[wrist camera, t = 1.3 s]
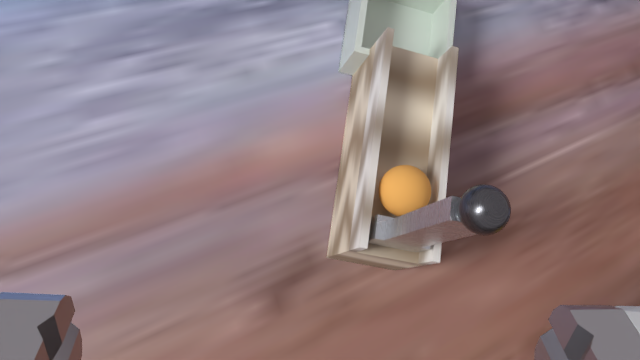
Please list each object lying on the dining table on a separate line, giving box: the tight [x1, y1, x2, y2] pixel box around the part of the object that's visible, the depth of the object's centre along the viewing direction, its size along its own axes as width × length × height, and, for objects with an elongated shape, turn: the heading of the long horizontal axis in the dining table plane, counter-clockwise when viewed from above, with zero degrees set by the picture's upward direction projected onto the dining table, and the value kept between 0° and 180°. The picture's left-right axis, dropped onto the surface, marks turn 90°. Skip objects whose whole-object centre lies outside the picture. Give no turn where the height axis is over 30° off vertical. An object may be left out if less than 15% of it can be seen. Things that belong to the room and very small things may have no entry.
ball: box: [379, 165, 431, 216], centre depth 42 cm, size 4×4×4 cm
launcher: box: [327, 27, 459, 270], centre depth 47 cm, size 18×6×8 cm, turn 171°
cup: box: [339, 0, 457, 76], centre depth 52 cm, size 9×9×4 cm
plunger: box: [368, 185, 511, 252], centre depth 36 cm, size 3×4×15 cm, turn 81°
